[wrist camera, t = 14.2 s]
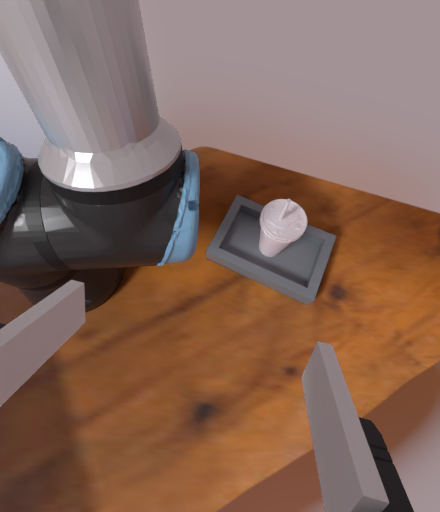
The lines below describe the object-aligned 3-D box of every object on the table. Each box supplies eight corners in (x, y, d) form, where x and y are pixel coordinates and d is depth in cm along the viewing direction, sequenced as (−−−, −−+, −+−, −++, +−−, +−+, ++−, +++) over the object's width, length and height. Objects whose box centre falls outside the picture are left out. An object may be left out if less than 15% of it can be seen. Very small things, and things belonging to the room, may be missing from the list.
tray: (206, 258, 44) (205, 251, 41) (235, 204, 48) (237, 194, 45) (306, 305, 41) (313, 301, 38) (328, 243, 45) (336, 236, 42)
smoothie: (248, 231, 45) (262, 180, 31) (284, 228, 45) (312, 175, 32) (254, 266, 42) (272, 227, 29) (292, 262, 43) (327, 221, 30)
